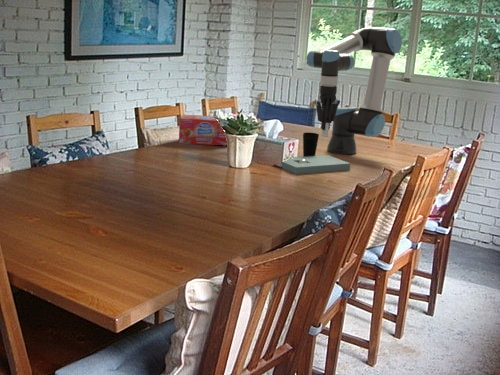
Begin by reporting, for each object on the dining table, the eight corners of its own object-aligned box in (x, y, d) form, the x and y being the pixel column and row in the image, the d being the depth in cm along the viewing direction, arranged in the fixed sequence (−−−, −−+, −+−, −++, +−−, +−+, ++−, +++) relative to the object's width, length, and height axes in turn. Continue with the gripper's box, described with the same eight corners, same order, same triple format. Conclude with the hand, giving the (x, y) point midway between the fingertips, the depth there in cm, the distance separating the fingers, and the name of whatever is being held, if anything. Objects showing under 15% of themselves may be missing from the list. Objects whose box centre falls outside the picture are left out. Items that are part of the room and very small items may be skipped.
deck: (326, 161, 311) (327, 154, 310) (349, 169, 296) (350, 163, 295) (274, 164, 296) (274, 158, 295) (295, 174, 281) (296, 167, 280)
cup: (316, 157, 318) (318, 133, 315) (316, 160, 311) (318, 136, 308) (301, 155, 319) (303, 132, 316) (300, 159, 311) (302, 134, 308)
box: (177, 143, 330) (178, 117, 327) (182, 138, 343) (183, 113, 339) (230, 147, 329) (231, 121, 325) (232, 142, 341) (234, 117, 338)
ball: (305, 161, 295) (300, 156, 293) (310, 163, 292) (305, 158, 290) (300, 168, 295) (295, 164, 293) (305, 170, 292) (300, 166, 290)
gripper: (335, 83, 295) (331, 134, 301) (312, 84, 288) (308, 135, 295) (345, 85, 289) (341, 137, 295) (321, 86, 282) (317, 139, 289)
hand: (324, 136), depth 295 cm, fingers closed
